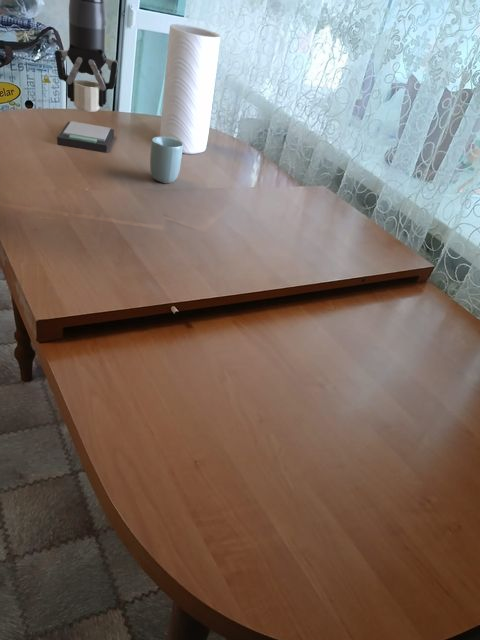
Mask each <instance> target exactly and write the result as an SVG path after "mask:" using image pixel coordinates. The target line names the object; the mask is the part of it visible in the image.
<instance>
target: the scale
mask: <svg viewBox="0 0 480 640" xmlns="http://www.w3.org/2000/svg"><path fill="white" fill-rule="evenodd" d="M114 138H115V129H113V128H111V127H108V126H101V125H96V124H90V123H84V122H80V121H79V122H78V121H72V120H71V121H67V122H66V124H65V125H64V127H63V128H62V130H61V131H60V133H59V134H58V135H57V137H56V142H57V143H56V144H57V145H59V146H65V147H71V148H75V149H76V148H77V149H83V150H88V151H94V152H100V153H107V152H108V151H109V148H110V146H111V143H112V141H113V139H114Z"/></svg>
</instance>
